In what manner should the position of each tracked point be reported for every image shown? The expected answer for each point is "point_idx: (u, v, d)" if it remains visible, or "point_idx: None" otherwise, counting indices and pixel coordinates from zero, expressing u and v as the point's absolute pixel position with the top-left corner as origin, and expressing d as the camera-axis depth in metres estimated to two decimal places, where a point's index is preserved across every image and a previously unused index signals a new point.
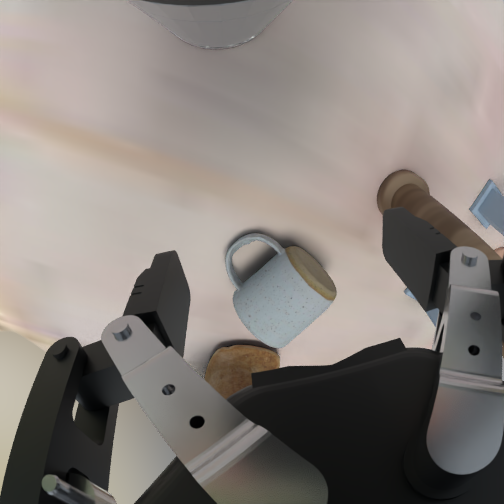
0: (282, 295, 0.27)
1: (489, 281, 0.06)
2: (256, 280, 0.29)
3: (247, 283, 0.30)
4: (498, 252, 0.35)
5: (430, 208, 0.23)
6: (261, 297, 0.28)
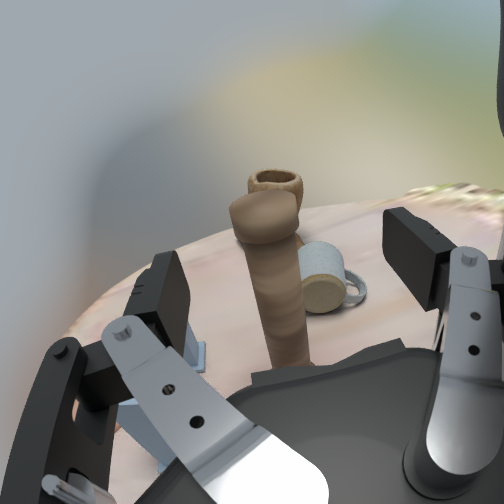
0: (336, 265, 0.41)
1: (489, 281, 0.06)
2: None
3: None
4: None
5: (308, 350, 0.29)
6: (340, 262, 0.42)
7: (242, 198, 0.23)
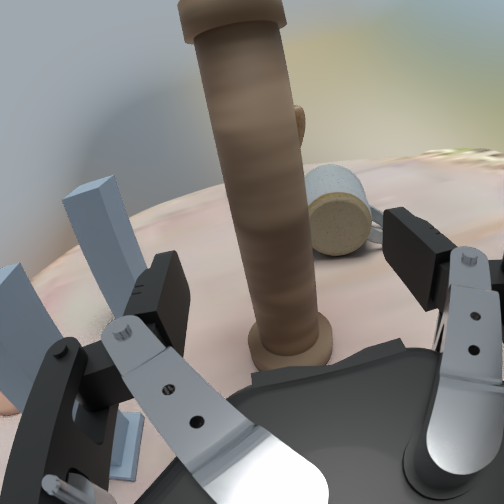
0: (356, 187, 0.29)
1: (489, 281, 0.06)
2: None
3: None
4: None
5: (313, 274, 0.17)
6: (361, 188, 0.31)
7: None
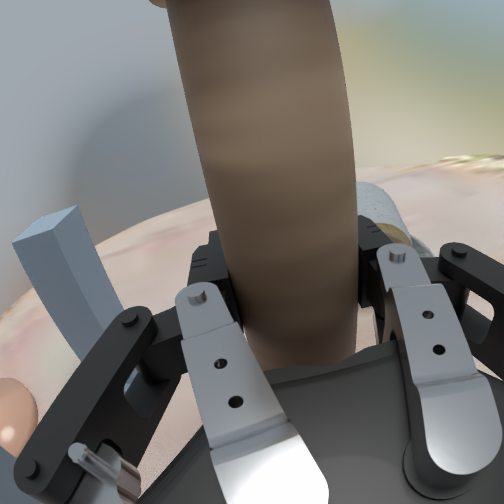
0: (395, 213, 0.23)
1: (411, 278, 0.07)
2: None
3: None
4: None
5: None
6: (398, 213, 0.24)
7: None
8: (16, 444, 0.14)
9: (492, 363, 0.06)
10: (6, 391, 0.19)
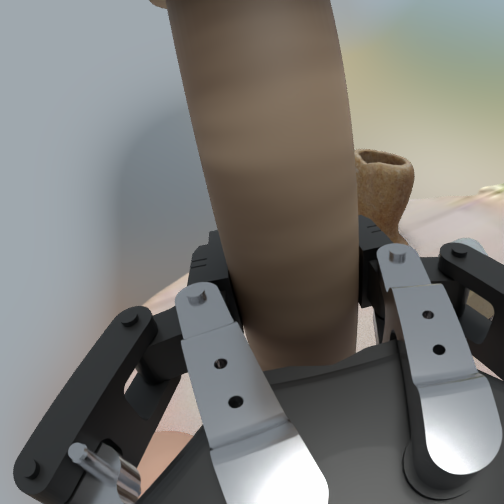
0: None
1: (411, 278, 0.07)
2: None
3: None
4: None
5: None
6: None
7: None
8: None
9: (492, 363, 0.06)
10: (171, 446, 0.23)
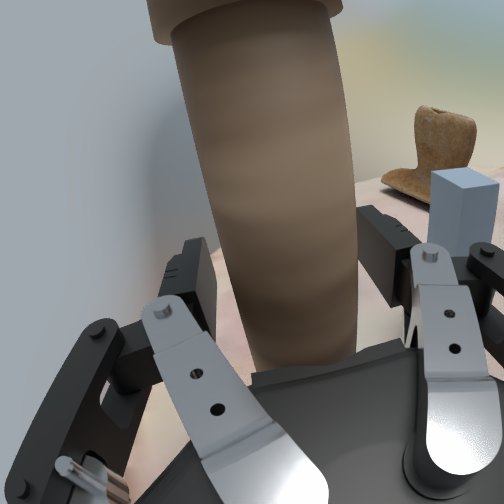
0: None
1: (447, 277, 0.07)
2: None
3: None
4: None
5: None
6: None
7: None
8: None
9: None
10: None
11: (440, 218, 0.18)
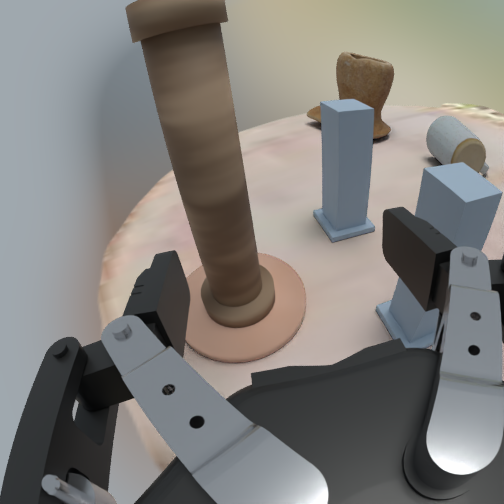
0: None
1: (489, 281, 0.06)
2: None
3: None
4: (300, 319, 0.23)
5: (253, 236, 0.20)
6: None
7: None
8: (301, 294, 0.25)
9: None
10: None
11: (327, 134, 0.26)
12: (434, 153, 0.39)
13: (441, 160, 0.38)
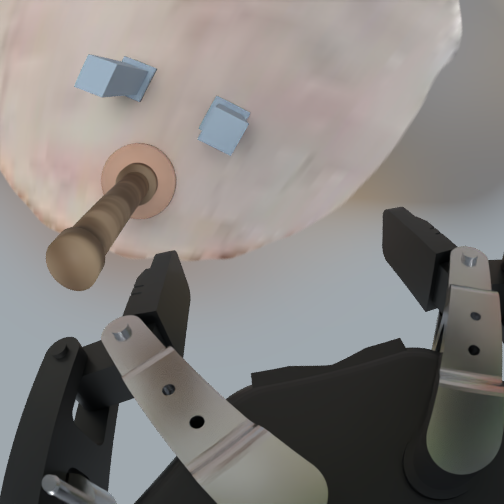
0: None
1: (489, 281, 0.06)
2: None
3: None
4: (171, 166, 0.40)
5: (135, 189, 0.34)
6: None
7: (52, 270, 0.21)
8: (159, 155, 0.39)
9: None
10: (115, 168, 0.39)
11: None
12: None
13: None
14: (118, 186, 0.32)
